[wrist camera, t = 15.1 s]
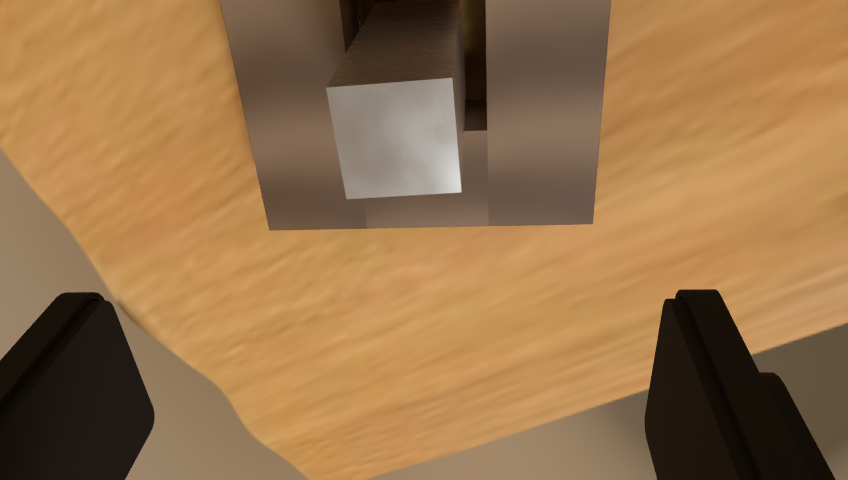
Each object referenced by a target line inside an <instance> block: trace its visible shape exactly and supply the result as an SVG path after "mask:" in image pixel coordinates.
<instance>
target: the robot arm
mask: <svg viewBox="0 0 848 480" xmlns="http://www.w3.org/2000/svg"><path fill="white" fill-rule="evenodd" d="M153 424H154V409H153V406H152V404H151V401H150V398H149V396H148V393H147V391H146V388H145V386H144V383H143V381H142V378H141V375H140V373H139V370H138V368H137V365H136V363H135V360H134V358H133V355H132V352H131V350H130V347H129V345H128V342H127V340H126V337H125V335H124V332H123V330H122V327H121V324H120V322H119V320H118V317H117V314H116V312H115V309H114V307H113V305H112V304H111V303H110V302H109V301H105V300H104V298H103V297H102V296H101V295H100V294H99V293H94V292H89V293H88V292H87V293H86V292H82V293H81V292H78V293H63V294H60V295H59V296H58V297H56V299H55V300H54V301H53V302H52V303H51V304H50V305H49V307H48V308H47V309H46V310H45V311H44V312H43V313H42V314H41V315H40V317H39V318H38V319H37V320H36V321H35V322H34V323H33V324H32V326H31V327H30V328H29V329H28V330H27V331H26V332H25V333H24V334H23V336H22V337H21V338H20V339H19V340H18V341H17V342H16V344H15V345H14V346H13V347H12V348H11V349H10V350H9V351H8V353H7V354H6V355H5V356H4V357H3V358H2V359H1V360H0V480H125V478H126V477H127V475H128V473H129V471H130V469H131V467H132V465H133V464H134V462H135V460H136V458H137V456H138V454H139V452H140V451H141V449H142V447H143V445H144V443H145V441H146V439H147V438H148V436H149V434H150V432H151V430H152V428H153ZM645 433H646V438H647V442H648V446H649V450H650V454H651V457H652V461H653V465H654V469H655V472H656V476H657V480H835V478H834V476H833V474H832V472H831V470H830V469H829V467H828V465H827V463H826V461H825V459H824V457H823V456H822V454H821V452H820V450H819V448H818V446H817V444H816V442H815V441H814V439H813V437H812V435H811V433H810V431H809V429H808V427H807V426H806V424H805V422H804V420H803V419H802V416H801V415H800V413H799V411H798V409H797V407H796V405H795V403H794V401H793V400H792V398H791V396H790V394H789V392H788V390H787V388H786V386H785V384H784V383H783V382H782V380H781V379H780V377H779V376H777V375H776V374H775V373H759V371H758V369H757V367H756V365H755V363H754V361H753V359H752V357H751V355H750V353H749V351H748V349H747V347H746V345H745V343H744V341H743V339H742V337H741V335H740V333H739V331H738V329H737V327H736V325H735V323H734V321H733V319H732V317H731V315H730V313H729V311H728V309H727V307H726V305H725V303H724V301H723V299H722V297H721V295H720V293H719V292H718V291H717V290H715V289H714V290H679V291H678V292H677V294H676V297H675V299H665V301H664V304H663V309H662V315H661V322H660V328H659V334H658V340H657V346H656V352H655V358H654V364H653V370H652V376H651V382H650V388H649V394H648V400H647V406H646V412H645Z"/></svg>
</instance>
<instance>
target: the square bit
mask: <svg viewBox="0 0 848 480" xmlns="http://www.w3.org/2000/svg"><path fill="white" fill-rule="evenodd" d="M326 91H327V96H328V102H329V107H330V113H331V118H332V123H333V129H334V134H335V140H336V145H337V150H338V156H339V161H340V167H341V172H342V178H343V183H344V188H345V194H346V199H359V198H376V197H393V196H410V195H427V194H444V193H460V192H462V170H463V146H464V122H465V98H466V69H465V54H464V40H463V26H462V12H461V0H402V1H391V2H381V3H375V4H374V6H373V8H372V9H371V11H370V13H369V15H368V16H367V18H366V20H365V21H364V23H363V25H362V27H361V28H360V30H359V32H358V33H357V35H356V37H355V39H354V40H353V42H352V44H351V46H350V47H349V49H348V51H347V52H346V54H345V56H344V58H343V59H342V61H341V63H340V64H339V66H338V68H337V70H336V71H335V73H334V75H333V76H332V78H331V80H330V82H329V83H328V85H327V87H326Z"/></svg>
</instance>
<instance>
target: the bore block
mask: <svg viewBox="0 0 848 480" xmlns="http://www.w3.org/2000/svg"><path fill="white" fill-rule="evenodd" d="M220 3H221V8H222V12H223V17H224V22H225V26H226V31H227V36H228V40H229V45H230V49H231V54H232V59H233V63H234V68H235V73H236V77H237V82H238V87H239V91H240V96H241V100H242V105H243V110H244V114H245V119H246V124H247V128H248V133H249V138H250V142H251V147H252V152H253V156H254V161H255V165H256V170H257V175H258V179H259V184H260V189H261V193H262V198H263V203H264V207H265V212H266V216H267V221H268V226H269V230H316V229H367V228H419V227H470V226H522V225H573V224H593V214H594V202H595V190H596V178H597V166H598V154H599V141H600V129H601V117H602V105H603V93H604V81H605V69H606V56H607V44H608V32H609V20H610V8H611V0H485V45H486V100H465V122H464V146H463V170H462V192H460V193H444V194H427V195H410V196H393V197H376V198H359V199H346V194H345V188H344V183H343V178H342V172H341V167H340V161H339V156H338V150H337V145H336V140H335V134H334V129H333V123H332V118H331V113H330V107H329V102H328V96H327V91H326V87H327V85H328V83H329V82H330V80H331V78H332V76H333V75H334V73H335V71H336V70H337V68H338V66H339V64H340V63H341V61H342V59H343V58H344V56H345V54H346V52H347V51H348V49H349V47H350V46H351V44H352V42H353V40H354V39H355V37H356V35H357V33H358V32H359V30H360V29H359V20H358V11H357V2H356V0H220Z"/></svg>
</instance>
